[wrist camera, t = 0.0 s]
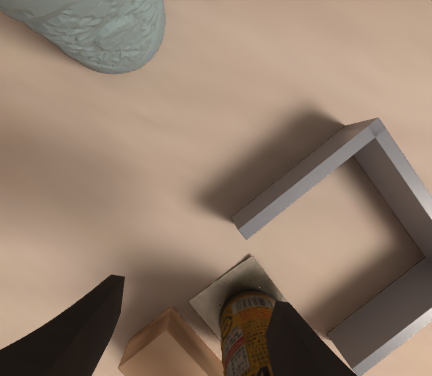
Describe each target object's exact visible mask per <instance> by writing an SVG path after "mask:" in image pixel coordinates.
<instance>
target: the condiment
mask: <svg viewBox="0 0 432 376" xmlns="http://www.w3.org/2000/svg"><path fill="white" fill-rule="evenodd" d="M259 287H260V288H259ZM276 300H277V301H284V302H287V301H286V299H285V298H284V297H283V295H282V294H281V293H280V291H279V290H278V288H277V287H276V286H275V285H274V283H273V282H272V281H271V279H270V278H269V276H268V275H267V274H266V272H265V271H264V270H263V268H262V267H261V266H260V265H259V263H258V262H257V261H256V259H255V258H254V257H253V256H251V257H250V258H248V259H247V260H246V261H244V262H242V263H241V264H239V265H238V266H236V267H235V268H234V269H233V270H231V271H229V272H228V273H226V274H225V275H224V276H222V277H221V278H220V279H218V280H217V281H215V282H214V283H213V284H211V285H210V286H209V287H207V288H206V289H205V290H203V291H202V292H200V293H199V294H198V295H196V296H195V297H194V298H192V299H191V300H190V301H189V303H190V304H191V305H192V307H193V308H194V309H195V310H196V311H197V313H198V314H199V315H200V317H201V318H202V319H203V320H204V321H205V322H206V324H207V325H208V326H209V327H210V329H211V330H212V331H213V332H214V333H215V334H216V336H217V337H218V338H219V339H220V340H221V350H222V364H223V369H224V370H223V374H224V376H273V372H272V368H271V365H270V360H269V356H268V349H267V342H266V335H265V334H266V331H267V328H268V325H269V321H270V318H271V315H272V312H273V309H274V306H275V303H276ZM220 301H221V304H219V302H220ZM219 306H221V308H219Z"/></svg>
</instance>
